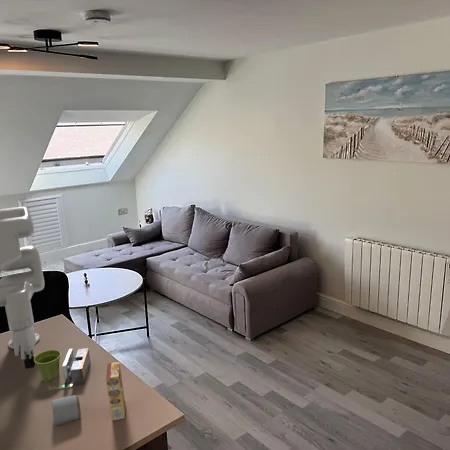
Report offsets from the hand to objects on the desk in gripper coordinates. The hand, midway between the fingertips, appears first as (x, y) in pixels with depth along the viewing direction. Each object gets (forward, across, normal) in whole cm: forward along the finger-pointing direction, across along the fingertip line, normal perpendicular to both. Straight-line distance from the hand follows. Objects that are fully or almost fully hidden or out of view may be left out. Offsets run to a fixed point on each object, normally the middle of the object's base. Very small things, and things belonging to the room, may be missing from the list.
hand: (30, 367), depth 155 cm
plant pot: (+5, 0, +7) cm, 8 cm away
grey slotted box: (+5, 0, +14) cm, 15 cm away
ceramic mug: (+5, +25, +17) cm, 31 cm away
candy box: (+5, +26, +34) cm, 43 cm away
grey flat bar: (+5, +1, +15) cm, 16 cm away
